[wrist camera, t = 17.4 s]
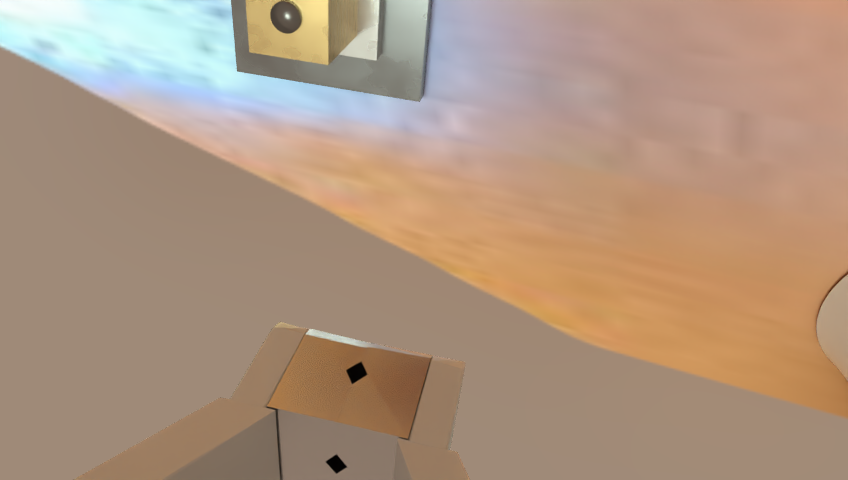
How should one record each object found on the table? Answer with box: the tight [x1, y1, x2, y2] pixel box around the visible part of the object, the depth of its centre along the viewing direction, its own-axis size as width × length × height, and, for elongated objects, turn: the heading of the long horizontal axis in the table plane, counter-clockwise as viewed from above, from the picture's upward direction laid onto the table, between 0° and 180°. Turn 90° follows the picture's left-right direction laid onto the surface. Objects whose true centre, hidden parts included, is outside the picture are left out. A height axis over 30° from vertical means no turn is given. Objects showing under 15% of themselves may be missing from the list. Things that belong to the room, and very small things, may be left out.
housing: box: [246, 0, 358, 65], centre depth 39 cm, size 5×5×6 cm
